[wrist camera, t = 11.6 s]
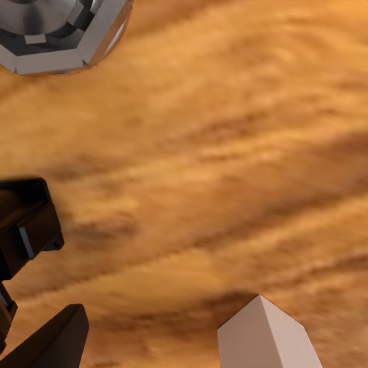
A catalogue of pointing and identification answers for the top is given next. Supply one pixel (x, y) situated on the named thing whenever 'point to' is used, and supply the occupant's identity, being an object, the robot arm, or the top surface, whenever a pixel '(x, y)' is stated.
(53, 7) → the grey cylinder with base
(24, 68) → the grey octagonal ring
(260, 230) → the top surface
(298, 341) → the milk
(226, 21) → the top surface
